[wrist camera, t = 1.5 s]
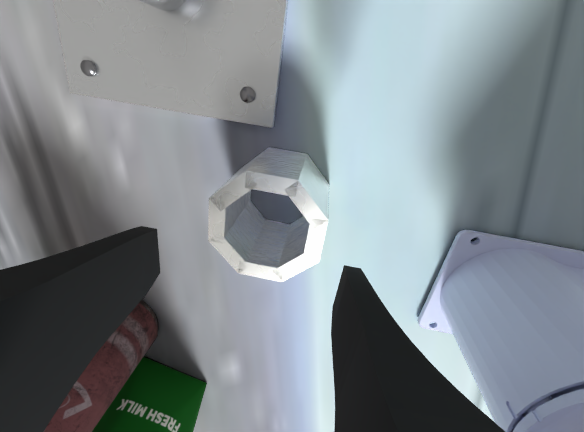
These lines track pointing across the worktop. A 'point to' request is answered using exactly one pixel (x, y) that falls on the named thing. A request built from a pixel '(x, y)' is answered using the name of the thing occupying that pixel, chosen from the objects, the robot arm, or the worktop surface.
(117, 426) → the milk carton
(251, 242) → the sleeve
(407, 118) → the worktop surface
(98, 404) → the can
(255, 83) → the duct plate
